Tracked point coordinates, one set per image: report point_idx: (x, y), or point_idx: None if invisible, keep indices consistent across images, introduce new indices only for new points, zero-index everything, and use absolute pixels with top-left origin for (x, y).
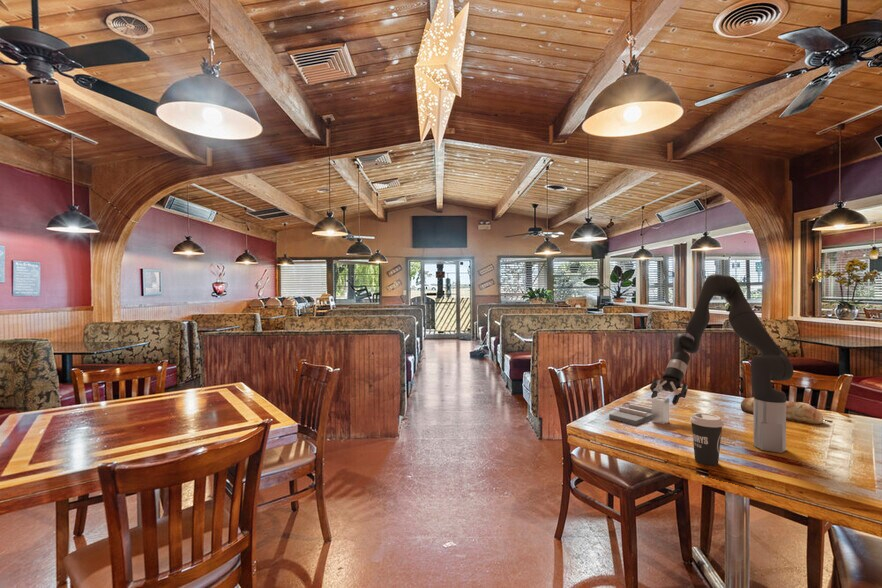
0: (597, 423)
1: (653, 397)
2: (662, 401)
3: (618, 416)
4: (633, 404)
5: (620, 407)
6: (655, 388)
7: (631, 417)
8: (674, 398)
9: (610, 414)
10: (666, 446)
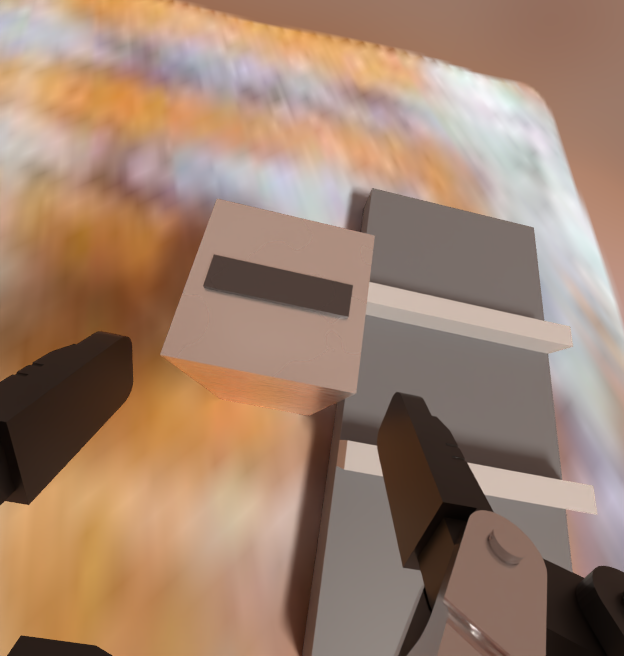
0: (502, 154)
1: (400, 395)
2: (235, 211)
3: (477, 214)
4: (560, 504)
5: (560, 325)
6: (521, 593)
7: (418, 233)
8: (59, 361)
9: (526, 226)
10: (177, 35)
